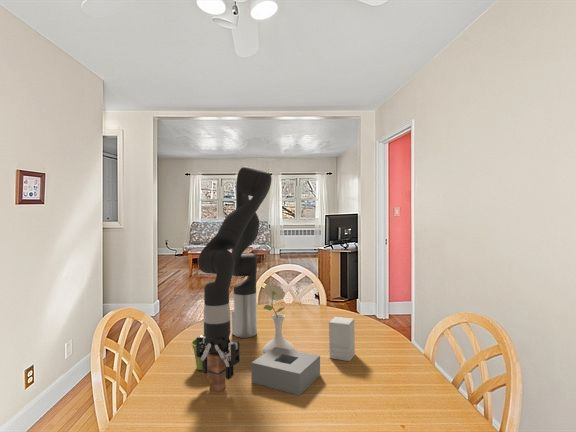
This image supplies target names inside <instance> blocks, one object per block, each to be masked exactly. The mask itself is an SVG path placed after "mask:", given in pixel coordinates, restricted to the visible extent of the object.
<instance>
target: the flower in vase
mask: <svg viewBox="0 0 576 432" xmlns="http://www.w3.org/2000/svg"><path fill="white" fill-rule="evenodd" d="M263 293H264V294H265V295H266V297H267V298H269V299H271V305H270V304H265V305H264V306H263V309H264V310H267V311H270V312H271V311H272V310H273V312H274V314H272V315H271V318H272V320H273V322H274V328H275V330H274V333H275V334H274V336H273V338H272V339H270V341H268V342H267V343H266V344H265V345H264V346H263V348H262V353H263V355H264V354H265V353H267V352H268V351H270V350H271V349H273V348H274V347H279V348H284V349H289V350H294V351H296V349H295V346H294V345H293V344H292V343H291V342H290V341H288V340H287V339H285V338H284V336H283V332H282V330H283V322H284V320H285V318H286V314H283V313H279V312H281V311H283V310H284V309H285V306H283V307H280V308H278V309H277V310H275V308H274V307H273V303H274V302H273V301H278V302H279V301H281V300H285V296H286V292H285V291H284V288H283V287H282V286H280V285H279V286H278V284H277V283H275V284H274V283H273V282H272V283H271V282H270V283H268V284H265V285H264V286H263Z"/></svg>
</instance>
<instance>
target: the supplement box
mask: <svg viewBox="0 0 576 432" xmlns="http://www.w3.org/2000/svg"><path fill="white" fill-rule="evenodd" d="M328 333H329V334H328V336H329V337H328V339H329V343H328V344H329V345H328V347H329V348H328V349H329V359H332V360H333V359H335V360H340V361H346V362H351V360H352V359H353V357H354V356H355V354H356V351H355V344H356V343H355V318H350V317H341V316H334V317H333V318H332V319H331V320H330V321H328Z"/></svg>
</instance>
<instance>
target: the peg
mask: <svg viewBox="0 0 576 432" xmlns="http://www.w3.org/2000/svg"><path fill="white" fill-rule="evenodd" d="M224 355H227V353H226V352H225V353H224ZM206 376H207V378H206V379H208V380H209V389H210V390H212V389H213V391H215V390H216V392H219V390H220V391H221V390H222V389H224V388H226V386H227V385H226V364H225V362H224V360H222V359H221V357H220V355H216V354H211V353H209V354H207V374H206Z"/></svg>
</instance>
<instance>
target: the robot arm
mask: <svg viewBox="0 0 576 432" xmlns="http://www.w3.org/2000/svg"><path fill="white" fill-rule="evenodd" d="M236 175H237V177H236V183H235V209H234V210H232V211H231V212H230V213H229V214H228V215H227V216H226V217H225V218H224V219H223V222H222V223H221V225H220V227H219V229H218V232H217V233H216V234H215V235H214V236H213V238H211V239H210V241H209V242H208V243H207V244H206V245H205V246H204V248H202V250H201V251H200V253H199V256H198V259H197V260H198V261H197V264H198V265H197V266H198V268H199V270H200V271H201V272H202V273H205V274H212V275H216V277H215V279H214V281H210V282H207V283H205V284H204V293H203V294H204V295H203V299H204V305H203V334H202V335H199V336H197V337H196V338H195V339H196V356H197V357H200V358H201V360H202V369H203V371H202V372H203V374H205V375H207V354H209V353H211V354H216V355H220V357H221V359H222V360H224V362H225V364H226V377H225V380H230V379H232V378H233V376H234V373H235V372H234V370H235V369H234V368H235V367H234V366H236V365H237V364H238V363H241V362H240V355H241V354H240V342H239V341H235V342H232V341H231V339H230V335H234V337H236V338H239V339H240V338H241V339H243V338H244V339H245V338H247V339H248V338H253V337H255V336H256V335H257V331H258V330H257V329H258V328H257V323H258V322H257V310H258V309H257V271H258V270H257V268H258V265H257V264H258V262H257V261H258V259H257V256H256V254H255V253H244V252H245V251H246V250H247V249H248V248H249V247H250V246H251V245H252V244H253V243H254V242H255V241H256V239H257V238H258V234H259V230H260V229H259V228H260V218H259V216H258V214H257V211H258V210H259V208H260V206H261V205H262V203H263V202H264V200H265V199H266V196H267V195H268V193H269V192H270V188H271V185H272V175H271V173H269V172H267V171H264V170H261V169H257V168H254V167H251V166H246V165H245V166H242V167H240V169H239V170H238V173H237V174H236ZM250 197H251V198H250ZM230 250H231V251H230ZM232 277H247V278H246V279H245V280H244V281H242V282H240V283H237V284H235V285H234V287H233V310H232V312H231V308H230V307H231V305H230V287H231V286H230V285H231V282H232ZM231 331H232V332H231ZM205 344H206V346H207V347H206V349H205ZM200 351H201V352H200ZM225 352H226V353H227V355H224V353H225Z"/></svg>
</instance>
